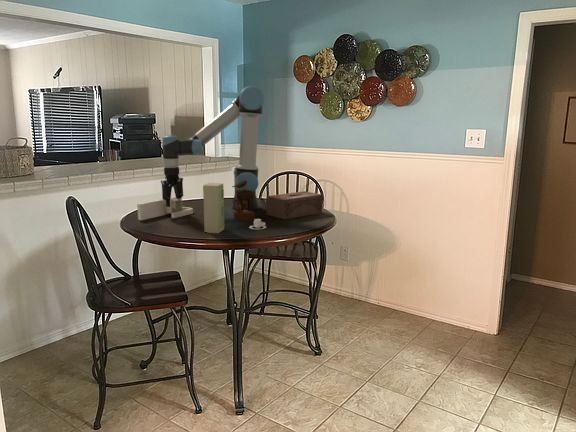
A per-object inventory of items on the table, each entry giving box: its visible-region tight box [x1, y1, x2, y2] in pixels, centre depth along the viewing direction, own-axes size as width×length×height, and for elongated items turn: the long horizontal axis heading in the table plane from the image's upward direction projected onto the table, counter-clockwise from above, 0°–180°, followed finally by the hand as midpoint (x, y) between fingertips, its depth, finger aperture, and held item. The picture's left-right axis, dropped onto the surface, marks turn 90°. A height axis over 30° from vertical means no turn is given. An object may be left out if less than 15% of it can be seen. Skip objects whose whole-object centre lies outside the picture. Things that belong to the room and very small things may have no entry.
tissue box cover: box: [265, 191, 323, 220], centre depth 246 cm, size 26×14×10 cm, turn 129°
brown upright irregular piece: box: [231, 180, 256, 222], centre depth 233 cm, size 15×11×20 cm
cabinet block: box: [165, 198, 183, 213], centre depth 242 cm, size 7×5×7 cm
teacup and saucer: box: [248, 218, 267, 230], centre depth 216 cm, size 9×8×4 cm
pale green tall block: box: [202, 182, 225, 234], centre depth 207 cm, size 8×7×21 cm
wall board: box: [136, 196, 194, 221], centre depth 239 cm, size 12×28×8 cm, turn 149°
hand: (173, 211), depth 243 cm, fingers closed on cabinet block, 5 cm apart
